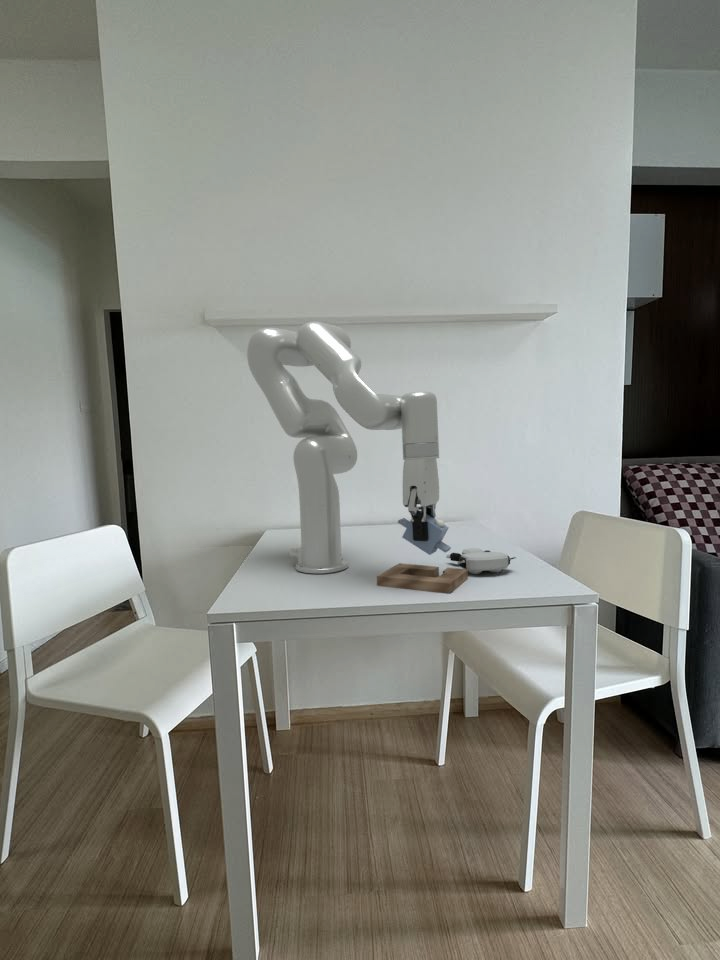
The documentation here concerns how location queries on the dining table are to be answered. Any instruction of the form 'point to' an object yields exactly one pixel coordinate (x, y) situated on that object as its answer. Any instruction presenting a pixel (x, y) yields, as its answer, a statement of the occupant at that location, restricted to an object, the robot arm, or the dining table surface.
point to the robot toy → (481, 560)
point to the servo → (434, 535)
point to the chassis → (422, 578)
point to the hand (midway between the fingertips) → (424, 537)
